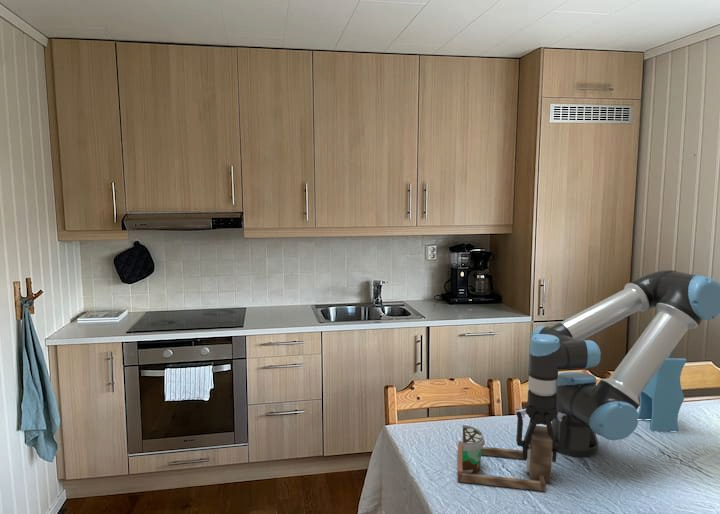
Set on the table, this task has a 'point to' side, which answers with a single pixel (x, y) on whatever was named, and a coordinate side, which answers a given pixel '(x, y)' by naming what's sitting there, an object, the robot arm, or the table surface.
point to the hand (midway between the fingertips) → (538, 470)
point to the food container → (471, 449)
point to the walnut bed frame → (538, 458)
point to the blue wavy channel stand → (663, 396)
